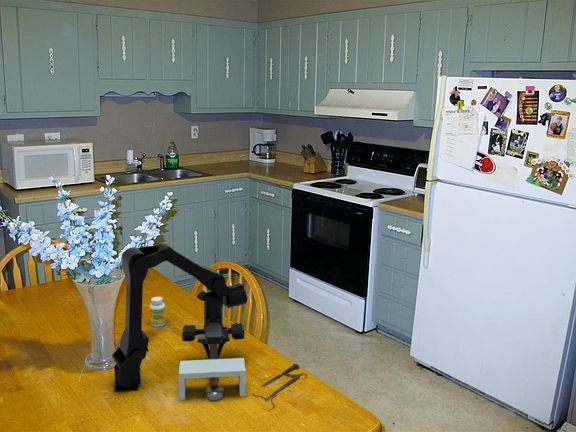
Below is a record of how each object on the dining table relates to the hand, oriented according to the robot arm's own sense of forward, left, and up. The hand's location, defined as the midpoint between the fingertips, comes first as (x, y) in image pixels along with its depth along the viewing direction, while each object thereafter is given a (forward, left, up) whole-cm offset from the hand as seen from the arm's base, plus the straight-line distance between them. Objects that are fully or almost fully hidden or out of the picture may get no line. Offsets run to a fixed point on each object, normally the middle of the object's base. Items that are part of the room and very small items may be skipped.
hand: (213, 357), depth 169 cm
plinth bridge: (0, -17, -2) cm, 17 cm away
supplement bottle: (-19, +29, -2) cm, 35 cm away
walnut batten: (0, -7, -1) cm, 7 cm away
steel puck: (0, -19, -2) cm, 19 cm away
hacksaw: (+20, -16, -2) cm, 26 cm away
